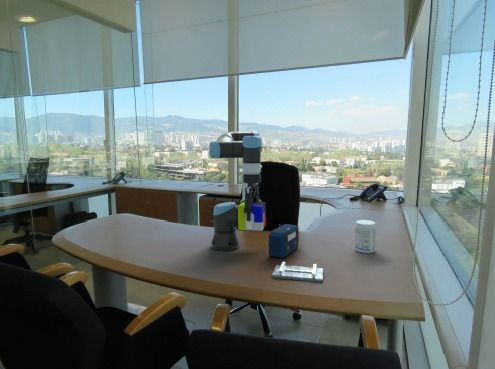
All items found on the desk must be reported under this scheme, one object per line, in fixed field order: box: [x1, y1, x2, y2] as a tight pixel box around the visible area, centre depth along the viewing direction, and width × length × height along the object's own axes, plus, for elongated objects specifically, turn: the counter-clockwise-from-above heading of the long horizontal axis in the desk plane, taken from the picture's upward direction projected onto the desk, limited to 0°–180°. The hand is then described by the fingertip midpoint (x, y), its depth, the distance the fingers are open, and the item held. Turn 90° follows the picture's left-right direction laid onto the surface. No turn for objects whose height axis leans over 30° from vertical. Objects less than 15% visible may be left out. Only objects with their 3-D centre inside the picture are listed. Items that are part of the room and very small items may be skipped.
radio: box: [268, 223, 300, 259], centre depth 158 cm, size 21×9×20 cm, turn 148°
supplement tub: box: [354, 219, 377, 254], centre depth 159 cm, size 10×10×15 cm
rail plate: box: [271, 261, 324, 283], centre depth 132 cm, size 20×11×3 cm, turn 76°
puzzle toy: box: [237, 201, 267, 232], centre depth 135 cm, size 10×10×10 cm
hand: (252, 225), depth 135 cm, fingers closed on puzzle toy, 10 cm apart
